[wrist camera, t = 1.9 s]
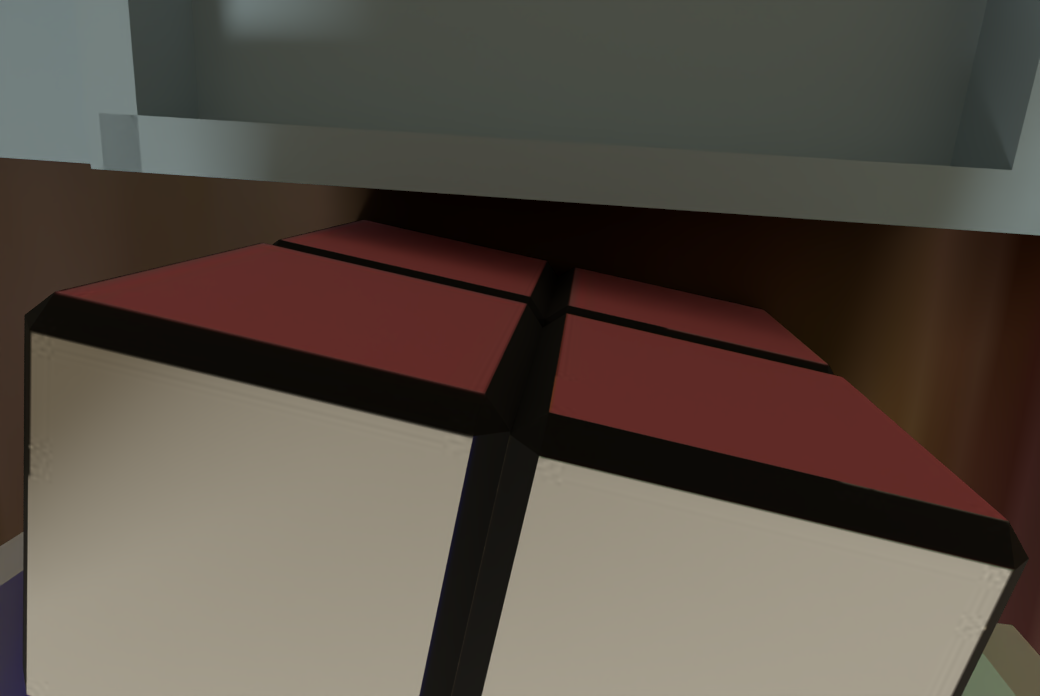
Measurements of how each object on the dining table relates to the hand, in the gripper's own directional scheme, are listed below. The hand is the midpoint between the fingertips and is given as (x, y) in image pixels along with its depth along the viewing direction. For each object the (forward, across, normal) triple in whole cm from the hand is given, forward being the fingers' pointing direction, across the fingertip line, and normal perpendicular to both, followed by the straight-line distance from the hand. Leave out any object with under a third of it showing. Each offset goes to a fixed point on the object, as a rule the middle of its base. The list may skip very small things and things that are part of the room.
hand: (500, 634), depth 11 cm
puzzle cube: (+7, -1, 0) cm, 7 cm away
